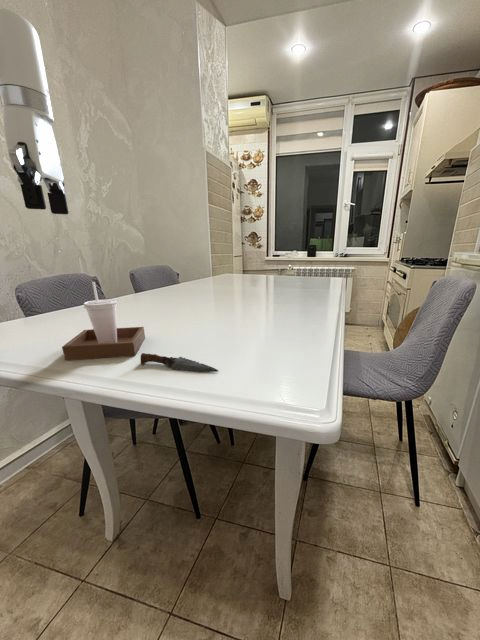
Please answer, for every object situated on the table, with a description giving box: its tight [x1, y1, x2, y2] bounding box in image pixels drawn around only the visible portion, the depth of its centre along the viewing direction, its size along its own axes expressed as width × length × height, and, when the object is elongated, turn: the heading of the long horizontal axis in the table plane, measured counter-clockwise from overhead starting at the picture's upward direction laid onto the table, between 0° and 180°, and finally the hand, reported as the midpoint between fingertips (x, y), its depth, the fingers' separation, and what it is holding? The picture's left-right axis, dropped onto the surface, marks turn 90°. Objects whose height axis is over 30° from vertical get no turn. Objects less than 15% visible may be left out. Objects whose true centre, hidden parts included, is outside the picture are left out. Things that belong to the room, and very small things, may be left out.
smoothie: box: [83, 281, 118, 344], centre depth 64 cm, size 6×6×14 cm
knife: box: [140, 352, 219, 373], centre depth 56 cm, size 17×2×5 cm
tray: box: [61, 326, 146, 361], centre depth 66 cm, size 14×13×3 cm
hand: (49, 211), depth 59 cm, fingers open, 9 cm apart
